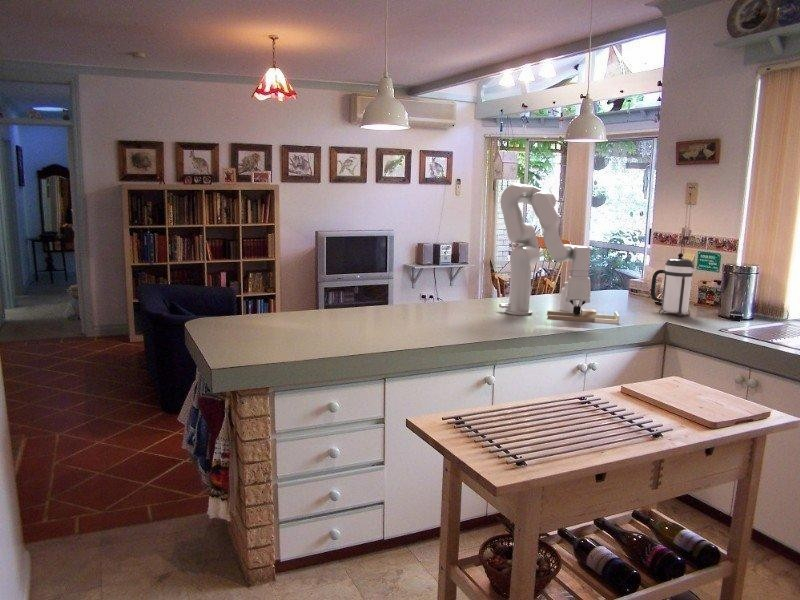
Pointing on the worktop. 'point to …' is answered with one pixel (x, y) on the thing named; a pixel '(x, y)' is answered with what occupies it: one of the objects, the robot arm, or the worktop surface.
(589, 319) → the lane
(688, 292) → the coffee press
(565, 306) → the pill bottle
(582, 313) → the block
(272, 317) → the worktop surface
